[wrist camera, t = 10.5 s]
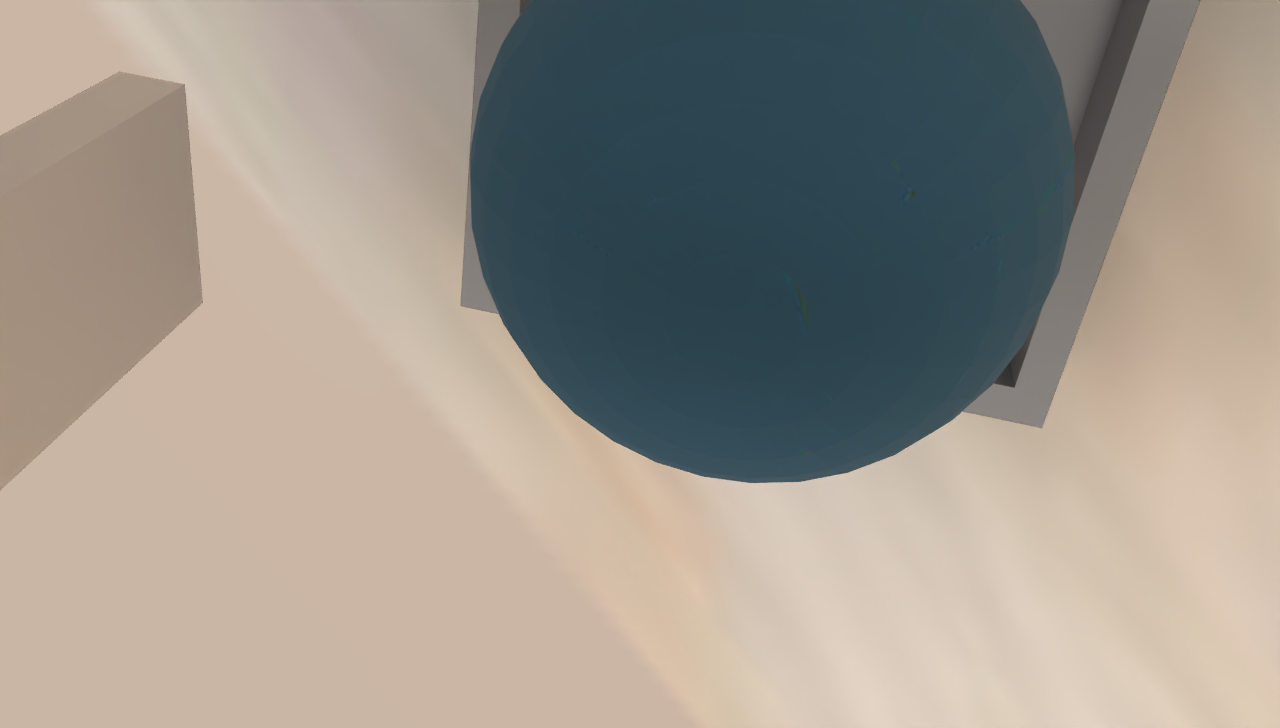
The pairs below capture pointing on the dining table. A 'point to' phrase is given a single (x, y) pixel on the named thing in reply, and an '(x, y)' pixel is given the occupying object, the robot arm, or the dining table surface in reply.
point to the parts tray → (1103, 174)
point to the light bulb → (771, 218)
